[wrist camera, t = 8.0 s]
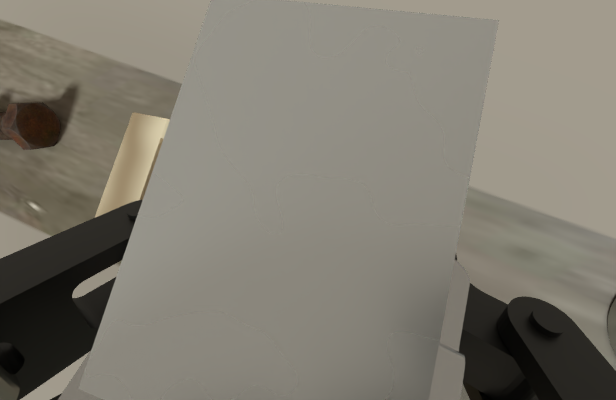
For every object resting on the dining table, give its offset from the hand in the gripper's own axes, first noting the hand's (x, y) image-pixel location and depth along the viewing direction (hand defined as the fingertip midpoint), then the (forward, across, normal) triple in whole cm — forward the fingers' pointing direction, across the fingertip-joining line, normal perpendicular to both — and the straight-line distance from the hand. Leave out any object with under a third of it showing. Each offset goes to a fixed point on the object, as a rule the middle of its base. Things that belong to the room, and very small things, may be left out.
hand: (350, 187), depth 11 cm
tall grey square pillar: (+3, 0, +6) cm, 7 cm away
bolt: (+16, +45, +13) cm, 50 cm away
